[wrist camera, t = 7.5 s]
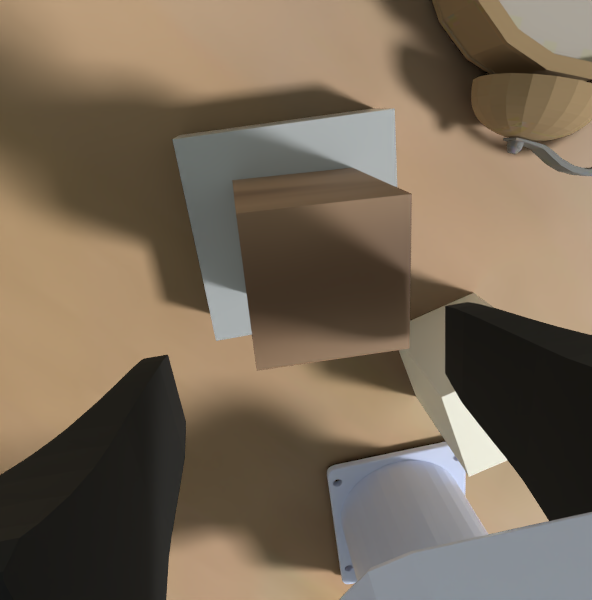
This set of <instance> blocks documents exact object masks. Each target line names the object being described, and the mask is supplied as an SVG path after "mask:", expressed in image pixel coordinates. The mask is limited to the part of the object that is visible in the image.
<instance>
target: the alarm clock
mask: <svg viewBox="0 0 592 600" xmlns="http://www.w3.org/2000/svg"><path fill="white" fill-rule="evenodd" d="M432 2H433V5H434V8H435V11H436V14H437V17H438V20H439V23H440V24H441V25H442V27H443V28H444V29H445V31H446V32H447V33H448V35H449V36H450V37H451V39H452V40H453V41H454V43H455V44H456V45H457V47H458V48H459V50H460V51H461V52H462V54H463V55H464V56H465V58H466V59H467V60H469V61H470V62H472V63H474V64H475V65H477V66H478V67H480V68H481V69H483V70H484V71H486V72H487V73H489V74H490V75H484V76H479V77H477V78H475V79H473V83H472V89H471V103H472V108H473V111H474V113H475V115H476V117H477V118H478V120H479V121H480V122H481V123H482V124H483V125H484V126H485V127H487V128H488V129H490V130H492V131H494V132H495V133H497V134H500V135H502V136H505V137H509V138H503V140H504V141H508V144H507V152H508V153H512V154H517V153H518V152H519V151H520V150H521V149H522V147H523V146H524V147H526V148H529V149H530V150H531V151H532V152H534V153H535V154H536V155H537V156H538V157H539V158H540V159H541V160H542V161H543V162H544V163H545V164H547V165H548V166H550V167H552V168H553V169H555V170H557V171H560V172H563V173H567V174H571V175H580V176H592V167H591V168H581V167H577V166H574V165H572V164H570V163H569V162H567V161H565V160H563V159H562V158H561V157H560V156H558V155H557V154H556V153H555V152H554V151H553V150H551V149H550V148H549V147H547V146H546V145H543V144H540V143H536V142H533V141H544V140H552V139H557V138H561V137H564V136H567V135H570V134H572V133H574V132H576V131H578V130H579V129H581V128H583V127H584V126H585V125H587V124H588V123H589V122H590V121H591V120H592V83H589V82H585V81H587V80H592V0H432Z"/></svg>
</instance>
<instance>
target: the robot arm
mask: <svg viewBox="0 0 592 600" xmlns="http://www.w3.org/2000/svg"><path fill="white" fill-rule="evenodd" d="M445 374H446V376H447V378H448V379H449V381H450V383H451V385H452V387H453V388H454V390H455V392H456V393H457V395H458V397H459V398H460V400H461V402H462V403H463V405H464V406H465V407H466V409H467V410H468V411H469V412H470V414H471V415H472V416H473V417H474V419H475V420H476V421H477V423H478V424H479V425H480V426H481V428H482V429H483V430H484V431H485V433H486V434H487V435H488V436H489V438H490V439H491V440H492V441H493V443H494V444H495V445H496V446H497V448H498V449H499V450H500V451H501V452H502V454H503V455H504V456H505V457H506V459H507V460H508V461H509V462H510V464H511V465H512V466H513V467H514V469H515V470H516V472H517V473H518V474H519V476H520V477H521V478H522V480H523V481H524V482H525V484H526V485H527V487H528V489H529V490H530V492H531V493H532V495H533V496H534V498H535V499H536V501H537V503H538V504H539V506H540V507H541V509H542V510H543V512H544V514H545V515H546V517H547V518H548V520H549V521H548V522H543V523H539V524H534V525H529V526H525V527H520V528H516V529H511V530H506V531H502V532H497V533H493V534H488V533H487V531H486V529H485V528H484V526H483V524H482V523H481V521H480V520H479V518H478V516H477V515H476V513H475V511H474V510H473V508H472V507H471V505H470V503H469V502H468V500H467V499H466V497H465V477H466V471H465V470H464V468H463V467H462V465H461V464H460V462H459V461H458V459H457V458H456V456H455V455H454V453H453V452H452V450H451V449H450V447H449V446H448V444H447V443H446V442H441V443H436V444H431V445H426V446H422V447H417V448H412V449H407V450H403V451H398V452H393V453H388V454H384V455H379V456H374V457H369V458H365V459H360V460H355V461H350V462H346V463H341V464H336V465H333V466H331V467H329V468H328V470H327V480H328V487H329V494H330V501H331V508H332V515H333V522H334V529H335V536H336V543H337V550H338V557H339V564H340V571H341V577H342V581H343V582H344V583H345V584H353V583H355V584H354V585H353V586H352V587H351V588H350V589H349V590H348V591H347V592H346V593H345V594H344V595H343V596H342V597H341V598H340V599H339V600H592V335H589V334H584V333H580V332H576V331H572V330H568V329H564V328H561V327H557V326H553V325H550V324H546V323H543V322H539V321H536V320H532V319H529V318H526V317H522V316H519V315H516V314H513V313H509V312H506V311H503V310H499V309H496V308H492V307H489V306H485V305H481V304H477V303H471V302H465V303H459V304H453V305H448V306H445ZM185 437H186V421H185V417H184V413H183V409H182V406H181V402H180V398H179V395H178V391H177V387H176V383H175V380H174V376H173V372H172V368H171V365H170V361H169V357H168V355H163V356H157V357H152V358H146V359H143V360H141V361H140V362H139V363H138V364H136V365H135V366H134V367H133V368H132V369H131V370H130V371H129V372H128V373H127V374H126V375H125V376H124V377H123V378H122V379H121V380H120V381H119V382H118V383H117V384H116V385H115V386H114V387H113V388H112V389H111V390H110V391H108V392H107V393H106V394H105V395H104V396H103V397H102V398H101V399H100V400H99V401H98V402H97V403H96V404H95V405H93V406H92V407H91V408H90V409H89V410H88V411H87V412H85V413H84V414H83V415H82V416H81V417H80V418H79V419H77V420H76V421H75V422H74V423H73V424H72V425H71V426H69V427H68V428H67V429H66V430H65V431H63V432H62V433H61V434H59V435H58V436H57V437H56V438H54V439H53V440H52V441H50V442H49V443H48V444H46V445H45V446H43V447H42V448H41V449H39V450H38V451H37V452H35V453H34V454H32V455H31V456H29V457H28V458H27V459H25V460H24V461H22V462H20V463H19V464H17V465H16V466H14V467H12V468H11V469H9V470H8V471H6V472H4V473H3V474H1V475H0V600H166V593H167V577H168V561H169V551H170V543H171V536H172V530H173V524H174V519H175V513H176V507H177V501H178V495H179V489H180V483H181V477H182V471H183V465H184V459H185ZM337 479H340V480H339V481H335V480H337Z"/></svg>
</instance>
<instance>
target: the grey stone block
mask: <svg viewBox="0 0 592 600" xmlns="http://www.w3.org/2000/svg"><path fill="white" fill-rule="evenodd" d="M172 140H173V144H174V149H175V154H176V158H177V163H178V167H179V172H180V177H181V181H182V186H183V190H184V195H185V200H186V204H187V209H188V213H189V218H190V223H191V227H192V232H193V236H194V241H195V246H196V250H197V255H198V259H199V264H200V269H201V273H202V278H203V283H204V287H205V292H206V296H207V301H208V306H209V310H210V315H211V319H212V324H213V329H214V333H215V338H216V341H218V340H223V339H229V338H235V337H240V336H246V335H252V331H251V324H250V316H249V308H248V301H247V293H246V286H245V278H244V271H243V263H242V256H241V248H240V241H239V233H238V226H237V218H236V210H235V201H234V191H233V182H232V180H238V179H248V178H257V177H267V176H277V175H286V174H296V173H306V172H315V171H325V170H335V169H344V168H355V169H357V170H359V171H361V172H364V173H366V174H368V175H370V176H372V177H375V178H377V179H379V180H381V181H384V182H386V183H388V184H390V185H393V186H395V187H397V166H396V137H395V109H386V108H372V109H365V110H358V111H351V112H343V113H336V114H329V115H322V116H314V117H307V118H300V119H293V120H285V121H278V122H271V123H263V124H256V125H249V126H242V127H234V128H227V129H220V130H213V131H205V132H198V133H191V134H184V135H178V136H177V137H175V138H174V139H172Z"/></svg>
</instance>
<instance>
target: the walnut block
mask: <svg viewBox="0 0 592 600" xmlns="http://www.w3.org/2000/svg"><path fill="white" fill-rule="evenodd" d="M232 182H233V191H234V201H235V210H236V218H237V226H238V233H239V241H240V248H241V256H242V263H243V271H244V278H245V286H246V293H247V301H248V308H249V316H250V324H251V331H252V339H253V346H254V354H255V361H256V369H257V371H258V370H265V369H272V368H278V367H285V366H292V365H299V364H306V363H313V362H320V361H327V360H334V359H341V358H347V357H354V356H361V355H368V354H375V353H382V352H389V351H396V350H403V349H409V347H410V279H411V210H412V194H411V193H408V192H406V191H404V190H402V189H399V188H397V187H395V186H393V185H390V184H388V183H386V182H384V181H381V180H379V179H377V178H375V177H372V176H370V175H368V174H366V173H364V172H361V171H359V170H357V169H355V168H344V169H335V170H325V171H315V172H306V173H296V174H286V175H277V176H267V177H257V178H248V179H238V180H232Z"/></svg>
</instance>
